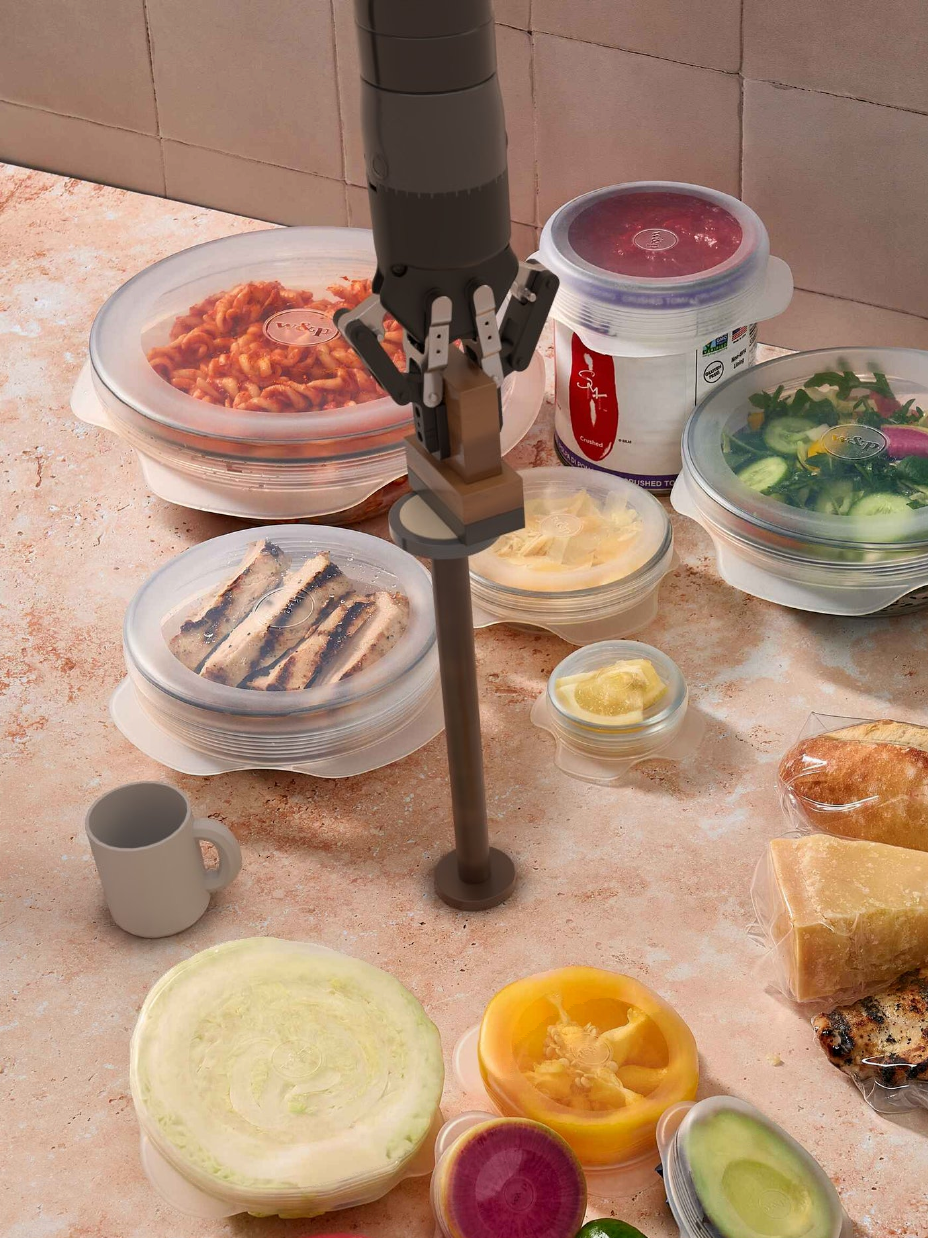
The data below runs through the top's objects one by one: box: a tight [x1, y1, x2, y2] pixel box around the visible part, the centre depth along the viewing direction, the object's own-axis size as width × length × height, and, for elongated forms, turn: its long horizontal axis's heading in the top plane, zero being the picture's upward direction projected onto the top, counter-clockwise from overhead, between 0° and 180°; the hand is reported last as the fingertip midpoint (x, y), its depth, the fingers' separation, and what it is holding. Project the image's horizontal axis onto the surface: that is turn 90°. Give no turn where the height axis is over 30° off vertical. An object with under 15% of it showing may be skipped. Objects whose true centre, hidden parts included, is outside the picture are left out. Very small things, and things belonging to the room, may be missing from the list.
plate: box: [387, 490, 501, 560], centre depth 102 cm, size 7×7×1 cm
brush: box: [403, 342, 526, 547], centre depth 99 cm, size 8×4×10 cm, turn 31°
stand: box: [429, 556, 517, 912], centre depth 113 cm, size 6×6×31 cm
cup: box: [84, 780, 243, 939], centre depth 119 cm, size 7×10×9 cm
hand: (460, 445), depth 100 cm, fingers closed on brush, 2 cm apart
